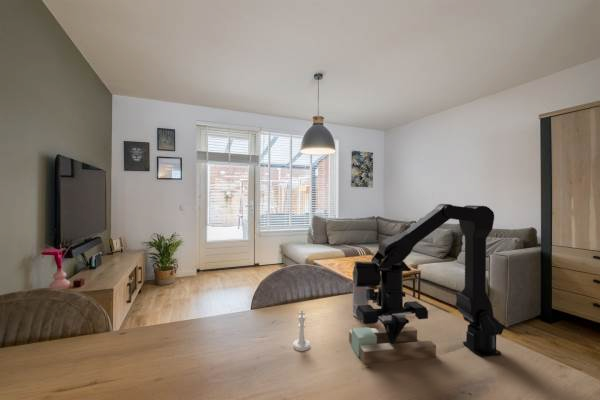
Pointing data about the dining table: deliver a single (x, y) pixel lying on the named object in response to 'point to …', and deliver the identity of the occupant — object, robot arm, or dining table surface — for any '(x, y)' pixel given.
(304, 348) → the chess piece
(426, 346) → the chute
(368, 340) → the block
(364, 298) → the energy drink
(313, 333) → the dining table surface
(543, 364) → the dining table surface
